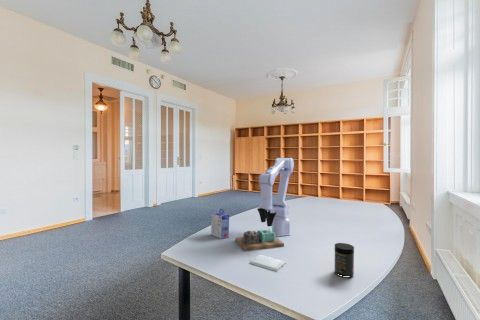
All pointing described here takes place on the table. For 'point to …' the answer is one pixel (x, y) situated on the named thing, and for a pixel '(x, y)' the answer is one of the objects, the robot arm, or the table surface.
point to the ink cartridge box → (220, 225)
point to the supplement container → (344, 259)
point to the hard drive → (268, 262)
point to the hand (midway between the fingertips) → (266, 224)
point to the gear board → (256, 241)
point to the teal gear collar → (266, 236)
